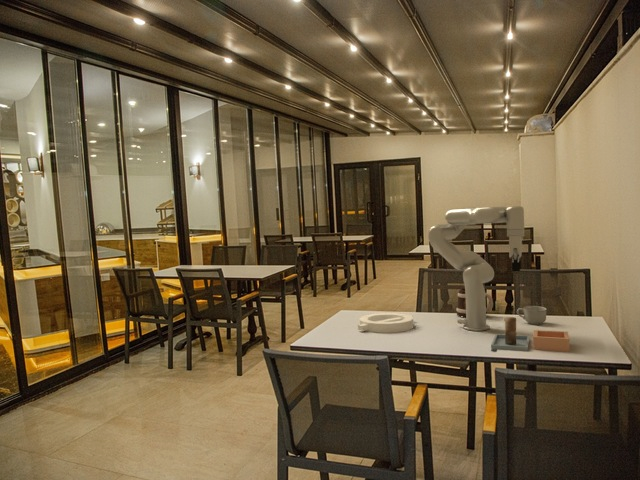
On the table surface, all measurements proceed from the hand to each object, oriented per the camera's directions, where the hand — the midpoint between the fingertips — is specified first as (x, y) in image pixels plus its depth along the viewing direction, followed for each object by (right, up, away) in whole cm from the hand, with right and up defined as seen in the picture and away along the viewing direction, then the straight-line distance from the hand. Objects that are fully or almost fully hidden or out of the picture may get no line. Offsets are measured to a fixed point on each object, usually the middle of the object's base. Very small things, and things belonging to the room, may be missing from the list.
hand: (516, 270), depth 225 cm
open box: (+5, -31, -24) cm, 39 cm away
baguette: (-9, -30, -17) cm, 36 cm away
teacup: (+18, -29, +25) cm, 42 cm away
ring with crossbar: (-56, -32, +32) cm, 72 cm away
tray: (-9, -31, -17) cm, 37 cm away
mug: (-4, -29, +50) cm, 58 cm away
